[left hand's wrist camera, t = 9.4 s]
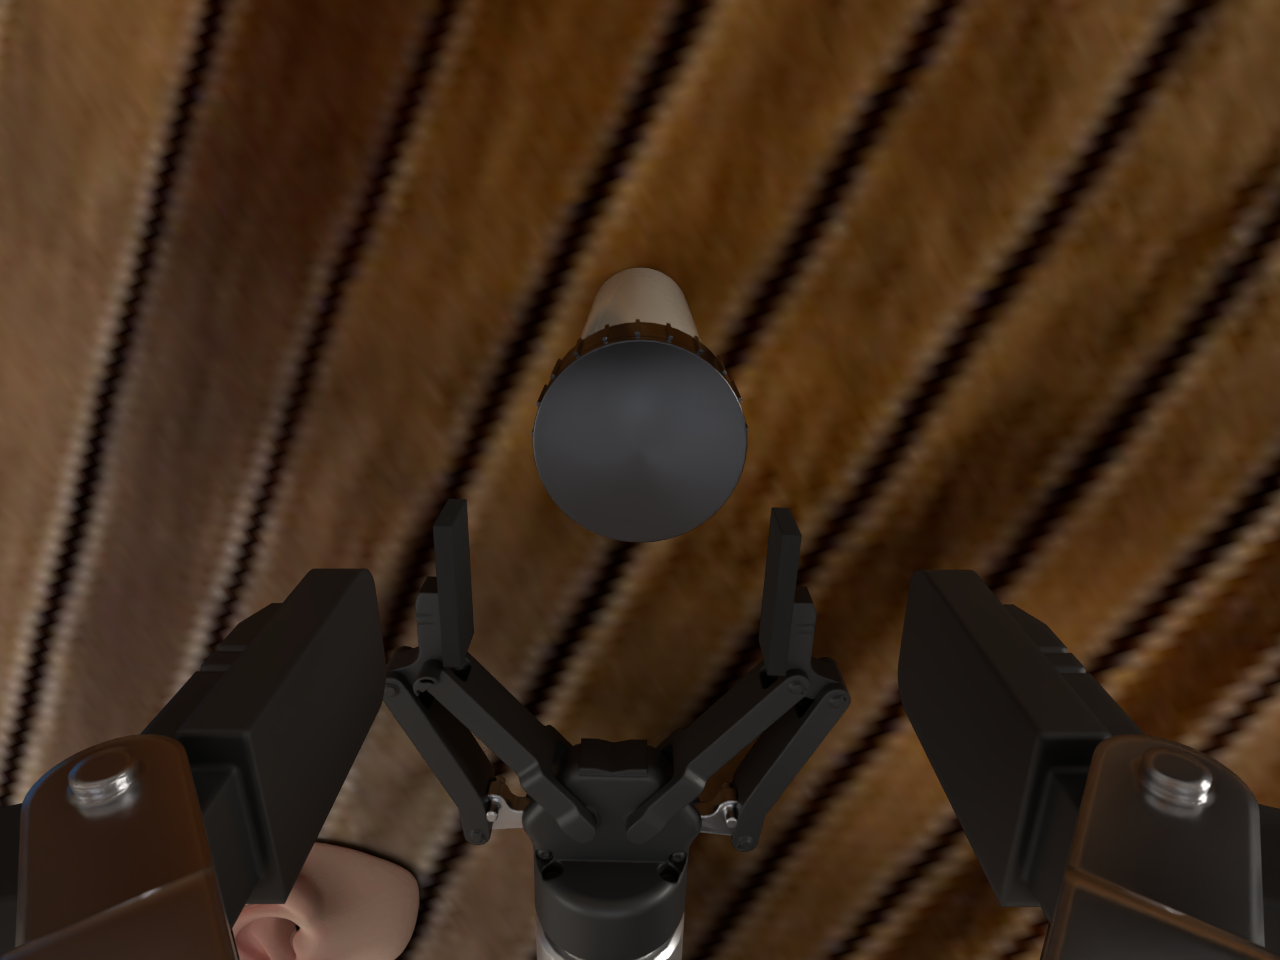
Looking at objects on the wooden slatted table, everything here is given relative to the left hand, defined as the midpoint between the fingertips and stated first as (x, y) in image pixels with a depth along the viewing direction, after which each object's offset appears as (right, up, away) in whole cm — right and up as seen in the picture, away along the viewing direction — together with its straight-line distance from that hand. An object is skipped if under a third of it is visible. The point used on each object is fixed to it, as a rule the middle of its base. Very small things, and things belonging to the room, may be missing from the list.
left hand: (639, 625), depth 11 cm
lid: (0, +3, +8) cm, 8 cm away
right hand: (-1, +1, +21) cm, 21 cm away
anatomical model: (-20, -24, +37) cm, 48 cm away
